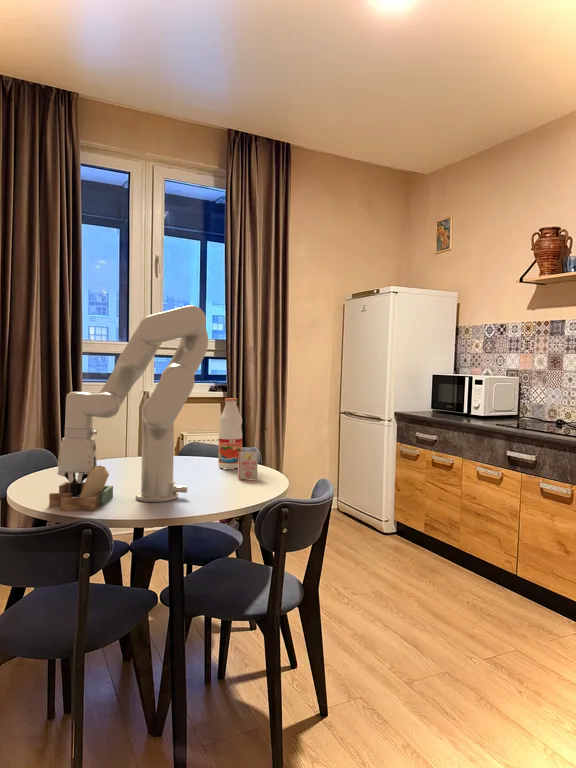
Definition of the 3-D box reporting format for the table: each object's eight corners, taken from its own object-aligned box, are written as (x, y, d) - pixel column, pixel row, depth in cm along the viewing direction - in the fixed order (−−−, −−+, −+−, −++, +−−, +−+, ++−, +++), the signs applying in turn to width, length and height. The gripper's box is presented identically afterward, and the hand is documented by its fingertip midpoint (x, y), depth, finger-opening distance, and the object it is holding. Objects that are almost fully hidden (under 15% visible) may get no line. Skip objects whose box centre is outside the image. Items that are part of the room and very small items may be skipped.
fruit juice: (240, 465, 224) (241, 397, 223) (242, 469, 215) (244, 399, 214) (217, 465, 223) (218, 397, 222) (218, 470, 213) (220, 399, 213)
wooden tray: (117, 493, 171) (117, 482, 171) (97, 510, 150) (97, 498, 150) (65, 493, 170) (65, 481, 170) (38, 510, 150) (38, 498, 149)
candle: (96, 504, 158) (109, 472, 158) (78, 498, 157) (90, 466, 157) (99, 498, 164) (112, 468, 163) (81, 492, 163) (94, 461, 162)
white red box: (237, 478, 199) (238, 451, 198) (256, 477, 200) (256, 450, 200) (238, 480, 195) (239, 452, 195) (257, 480, 196) (257, 452, 196)
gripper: (107, 433, 164) (105, 493, 164) (57, 431, 163) (54, 491, 163) (100, 436, 156) (97, 499, 157) (47, 434, 155) (45, 497, 156)
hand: (75, 495), depth 160 cm, fingers closed
